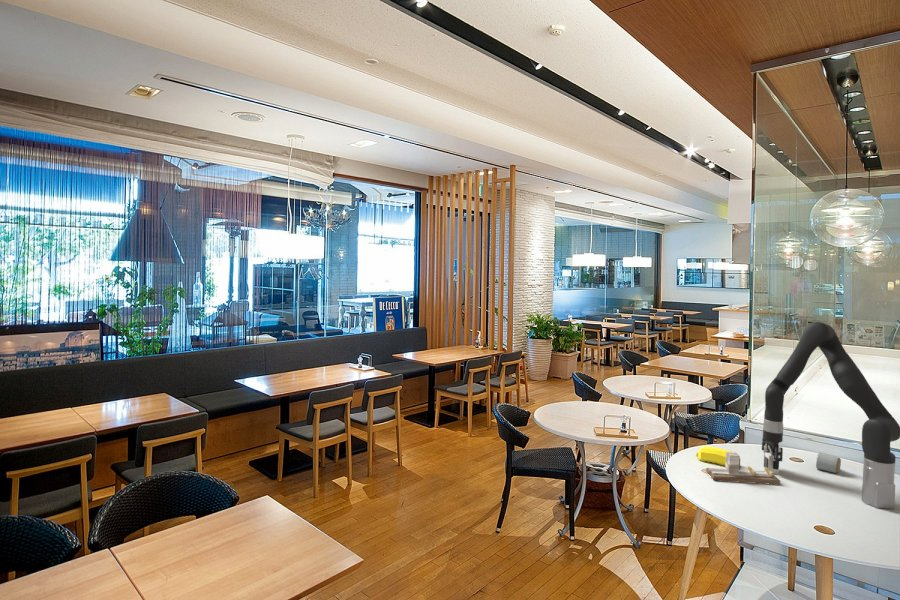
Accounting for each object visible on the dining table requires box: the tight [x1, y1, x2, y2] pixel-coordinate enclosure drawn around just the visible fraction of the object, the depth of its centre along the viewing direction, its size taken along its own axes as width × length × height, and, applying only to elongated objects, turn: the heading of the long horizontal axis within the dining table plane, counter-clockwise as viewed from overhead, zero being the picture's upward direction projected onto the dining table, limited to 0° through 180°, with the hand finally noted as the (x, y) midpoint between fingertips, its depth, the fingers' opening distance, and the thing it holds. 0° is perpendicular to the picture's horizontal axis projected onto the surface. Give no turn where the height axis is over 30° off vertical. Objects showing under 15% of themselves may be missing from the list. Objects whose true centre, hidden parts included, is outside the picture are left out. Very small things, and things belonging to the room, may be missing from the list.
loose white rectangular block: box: [763, 452, 779, 475], centre depth 228 cm, size 4×4×8 cm
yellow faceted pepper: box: [695, 445, 732, 467], centre depth 238 cm, size 18×7×8 cm
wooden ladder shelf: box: [705, 451, 781, 485], centre depth 220 cm, size 9×26×11 cm, turn 81°
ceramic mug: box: [815, 451, 842, 474], centre depth 230 cm, size 11×8×8 cm
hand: (771, 465), depth 228 cm, fingers open, 8 cm apart
